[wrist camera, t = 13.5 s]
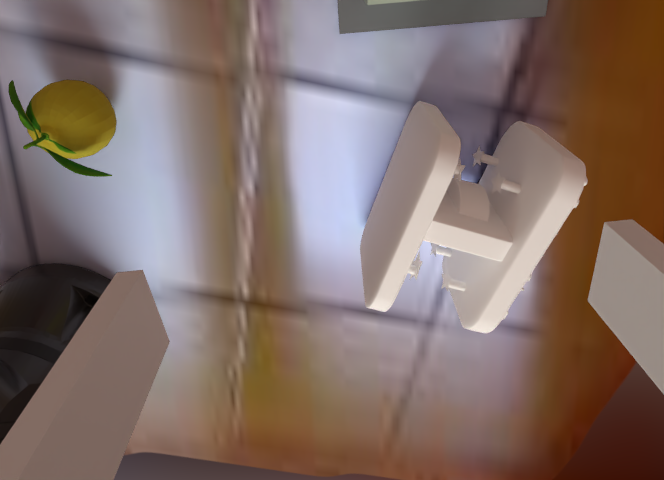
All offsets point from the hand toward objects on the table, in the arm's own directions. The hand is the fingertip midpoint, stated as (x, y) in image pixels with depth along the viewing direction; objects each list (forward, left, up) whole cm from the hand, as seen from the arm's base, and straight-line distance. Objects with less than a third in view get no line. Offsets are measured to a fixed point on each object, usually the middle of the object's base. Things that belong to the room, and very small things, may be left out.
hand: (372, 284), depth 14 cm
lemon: (-20, 0, -27) cm, 34 cm away
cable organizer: (+8, -9, -27) cm, 30 cm away
